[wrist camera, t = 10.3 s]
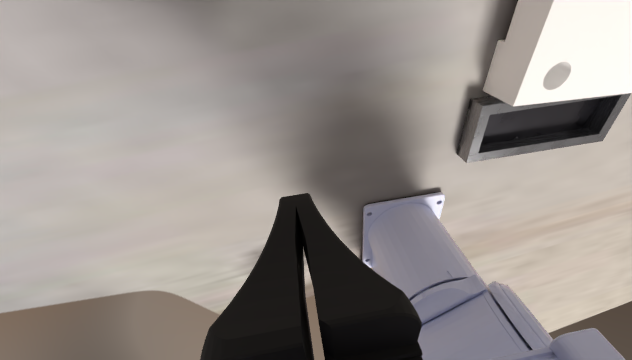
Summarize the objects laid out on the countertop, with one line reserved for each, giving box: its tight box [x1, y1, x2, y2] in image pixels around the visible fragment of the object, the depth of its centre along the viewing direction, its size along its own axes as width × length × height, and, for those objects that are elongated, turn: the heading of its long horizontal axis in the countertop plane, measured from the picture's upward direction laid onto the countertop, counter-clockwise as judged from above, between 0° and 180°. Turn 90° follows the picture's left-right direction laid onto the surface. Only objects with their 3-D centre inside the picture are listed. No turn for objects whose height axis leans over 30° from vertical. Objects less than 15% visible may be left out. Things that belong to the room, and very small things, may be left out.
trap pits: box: [457, 93, 631, 163], centre depth 18 cm, size 20×12×2 cm, turn 5°
